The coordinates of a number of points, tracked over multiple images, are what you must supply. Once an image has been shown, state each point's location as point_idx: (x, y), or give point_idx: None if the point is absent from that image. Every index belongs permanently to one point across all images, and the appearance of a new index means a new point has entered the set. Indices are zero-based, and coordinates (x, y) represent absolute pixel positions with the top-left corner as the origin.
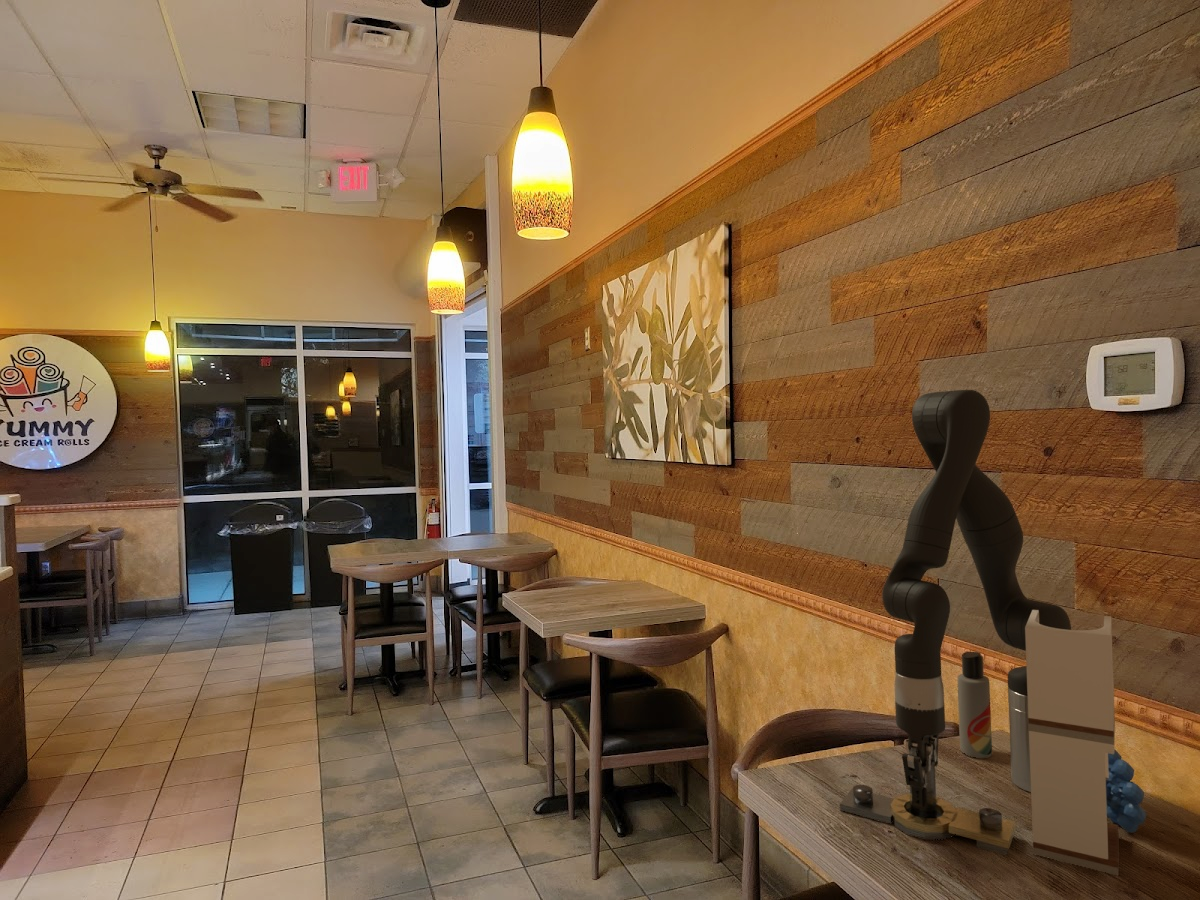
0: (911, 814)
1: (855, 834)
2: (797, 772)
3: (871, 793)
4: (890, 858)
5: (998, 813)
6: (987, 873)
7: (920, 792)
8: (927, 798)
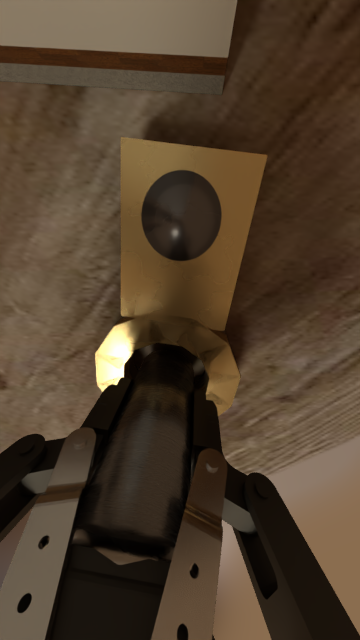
0: None
1: (252, 444)
2: None
3: None
4: (319, 401)
5: (169, 185)
6: (351, 228)
7: (220, 445)
8: (189, 404)
